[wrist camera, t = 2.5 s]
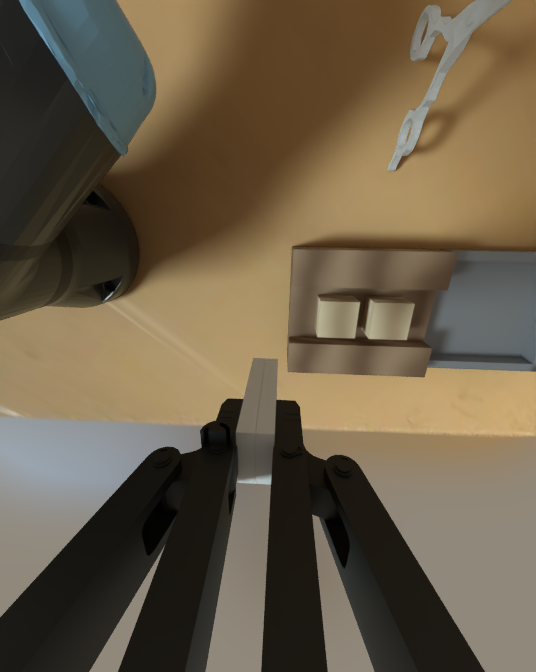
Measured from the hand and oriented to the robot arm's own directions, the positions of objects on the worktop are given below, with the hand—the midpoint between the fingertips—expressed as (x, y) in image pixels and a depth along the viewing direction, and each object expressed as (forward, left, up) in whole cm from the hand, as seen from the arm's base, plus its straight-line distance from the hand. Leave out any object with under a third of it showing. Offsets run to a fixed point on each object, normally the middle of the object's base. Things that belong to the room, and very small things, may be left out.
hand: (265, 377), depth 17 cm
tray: (+26, 0, -18) cm, 32 cm away
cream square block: (+7, 0, -15) cm, 17 cm away
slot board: (+10, 0, -18) cm, 21 cm away
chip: (+12, 0, -15) cm, 20 cm away
